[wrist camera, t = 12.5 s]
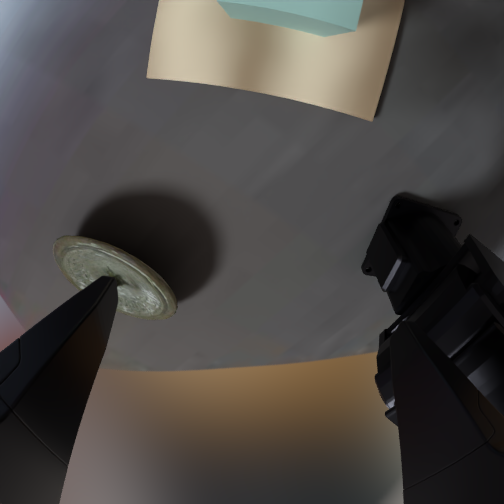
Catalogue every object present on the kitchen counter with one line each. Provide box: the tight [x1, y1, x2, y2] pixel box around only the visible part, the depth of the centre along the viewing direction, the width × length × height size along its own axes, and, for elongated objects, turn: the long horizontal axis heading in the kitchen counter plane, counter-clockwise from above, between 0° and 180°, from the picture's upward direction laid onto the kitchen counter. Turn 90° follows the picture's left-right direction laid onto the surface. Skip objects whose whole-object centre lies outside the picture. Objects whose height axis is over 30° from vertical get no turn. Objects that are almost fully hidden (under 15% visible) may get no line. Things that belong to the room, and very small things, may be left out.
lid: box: [53, 236, 178, 320], centre depth 22 cm, size 11×10×5 cm
